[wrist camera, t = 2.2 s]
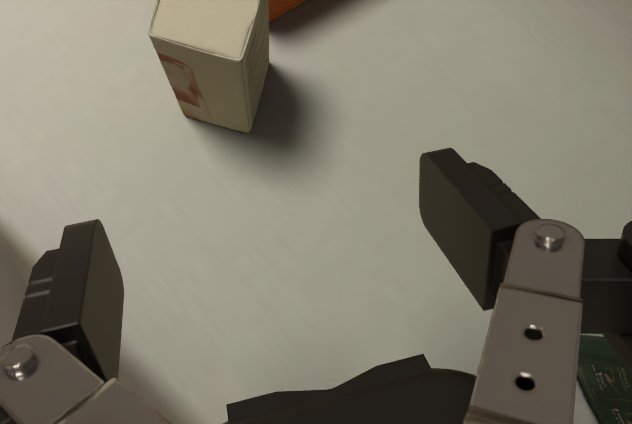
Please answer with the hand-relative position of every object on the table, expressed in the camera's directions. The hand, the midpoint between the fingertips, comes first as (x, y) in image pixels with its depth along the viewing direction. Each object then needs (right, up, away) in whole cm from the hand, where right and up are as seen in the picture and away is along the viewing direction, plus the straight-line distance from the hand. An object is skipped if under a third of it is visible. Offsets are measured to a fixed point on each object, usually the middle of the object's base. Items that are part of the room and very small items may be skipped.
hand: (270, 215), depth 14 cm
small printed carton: (-4, +7, +20) cm, 22 cm away
